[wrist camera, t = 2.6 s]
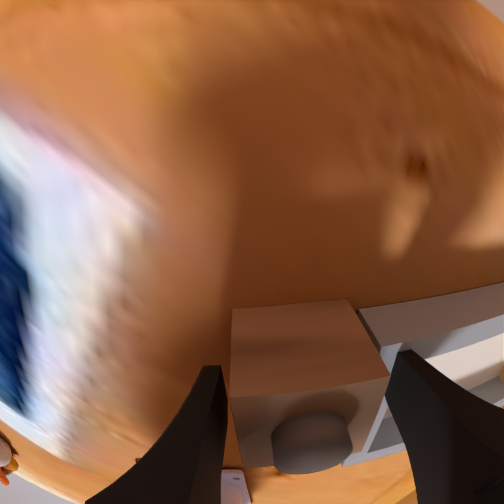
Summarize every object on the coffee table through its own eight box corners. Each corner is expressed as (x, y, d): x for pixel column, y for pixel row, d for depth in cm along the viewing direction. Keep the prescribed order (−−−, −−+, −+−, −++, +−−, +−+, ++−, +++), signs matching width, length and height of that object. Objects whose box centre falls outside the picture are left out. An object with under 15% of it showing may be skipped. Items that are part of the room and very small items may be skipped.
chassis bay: (498, 379, 15) (513, 399, 13) (333, 434, 15) (342, 466, 13) (543, 271, 11) (566, 288, 9) (358, 308, 11) (381, 347, 9)
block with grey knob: (335, 376, 13) (367, 471, 8) (242, 386, 13) (244, 489, 8) (346, 297, 11) (404, 400, 6) (232, 307, 11) (228, 427, 6)
